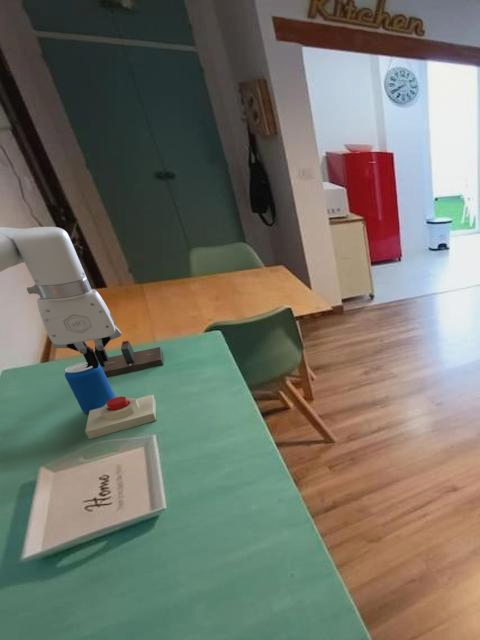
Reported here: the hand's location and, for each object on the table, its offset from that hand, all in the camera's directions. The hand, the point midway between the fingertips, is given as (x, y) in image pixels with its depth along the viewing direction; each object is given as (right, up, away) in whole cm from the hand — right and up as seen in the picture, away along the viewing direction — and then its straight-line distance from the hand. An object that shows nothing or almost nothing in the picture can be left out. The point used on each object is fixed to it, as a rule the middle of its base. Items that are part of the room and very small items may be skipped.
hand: (100, 365), depth 95 cm
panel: (-19, -2, +30) cm, 35 cm away
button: (0, -10, +5) cm, 11 cm away
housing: (-1, -14, +7) cm, 15 cm away
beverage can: (-10, -12, +10) cm, 19 cm away
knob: (-19, 0, +29) cm, 35 cm away
